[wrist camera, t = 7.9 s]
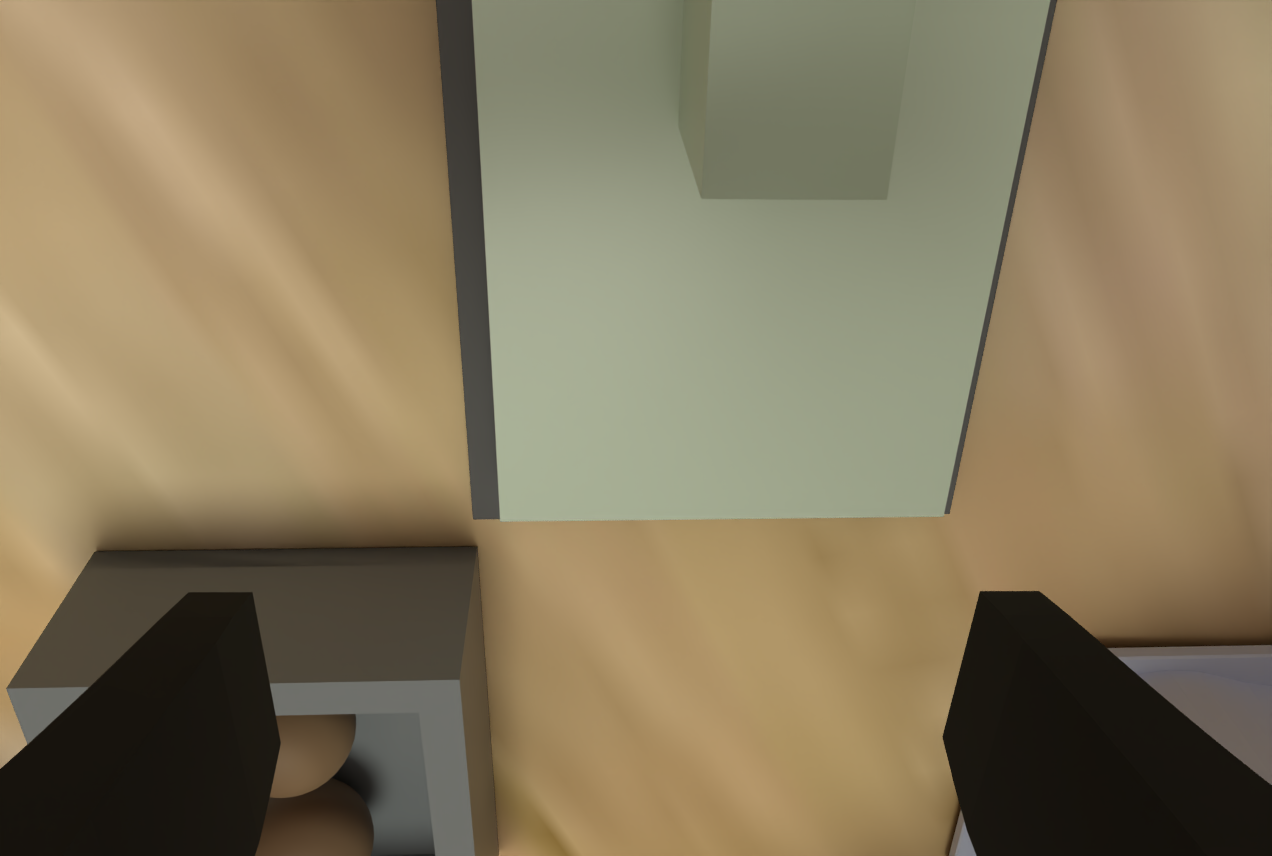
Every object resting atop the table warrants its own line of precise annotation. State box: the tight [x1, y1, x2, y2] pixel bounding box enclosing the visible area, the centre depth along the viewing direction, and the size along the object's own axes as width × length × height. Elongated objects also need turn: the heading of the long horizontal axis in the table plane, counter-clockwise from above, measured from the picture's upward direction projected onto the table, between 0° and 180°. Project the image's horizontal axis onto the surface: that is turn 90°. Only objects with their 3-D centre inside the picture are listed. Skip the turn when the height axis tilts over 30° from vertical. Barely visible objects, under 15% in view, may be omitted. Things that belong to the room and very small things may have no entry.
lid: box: [472, 0, 1050, 522], centre depth 17 cm, size 9×11×5 cm
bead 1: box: [270, 714, 356, 798], centre depth 22 cm, size 3×3×3 cm
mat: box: [436, 0, 1057, 519], centre depth 19 cm, size 10×11×1 cm
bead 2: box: [255, 778, 374, 856], centre depth 24 cm, size 3×3×3 cm
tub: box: [6, 547, 499, 856], centre depth 23 cm, size 8×10×4 cm
